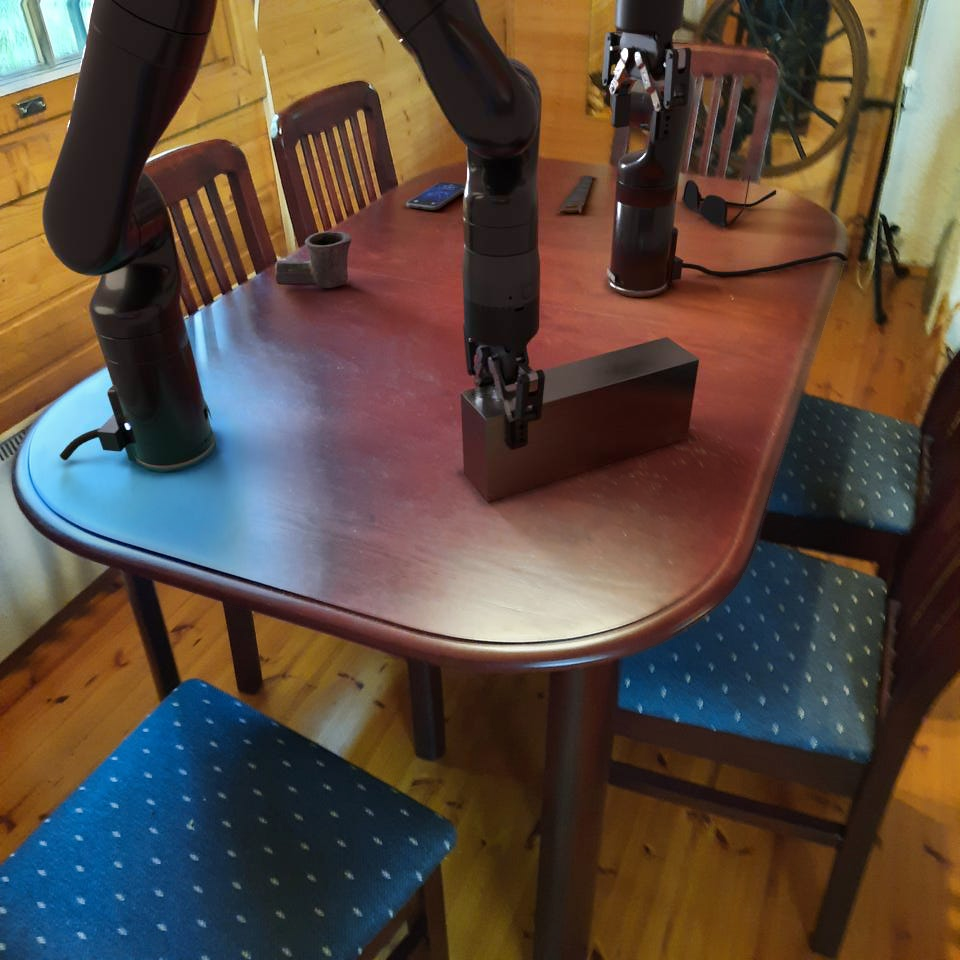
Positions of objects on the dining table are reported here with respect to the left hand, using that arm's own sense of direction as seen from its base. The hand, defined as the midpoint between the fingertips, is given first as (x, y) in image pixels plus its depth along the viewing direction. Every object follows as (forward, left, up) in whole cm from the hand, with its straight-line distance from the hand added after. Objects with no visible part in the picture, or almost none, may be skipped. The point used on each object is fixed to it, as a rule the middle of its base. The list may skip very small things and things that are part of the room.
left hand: (502, 430), depth 93 cm
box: (+8, +6, -7) cm, 12 cm away
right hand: (+12, +33, +23) cm, 42 cm away
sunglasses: (+30, +92, -7) cm, 97 cm away
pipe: (-38, +48, -7) cm, 62 cm away
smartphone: (-28, +93, -7) cm, 97 cm away
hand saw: (+1, +98, -7) cm, 98 cm away
